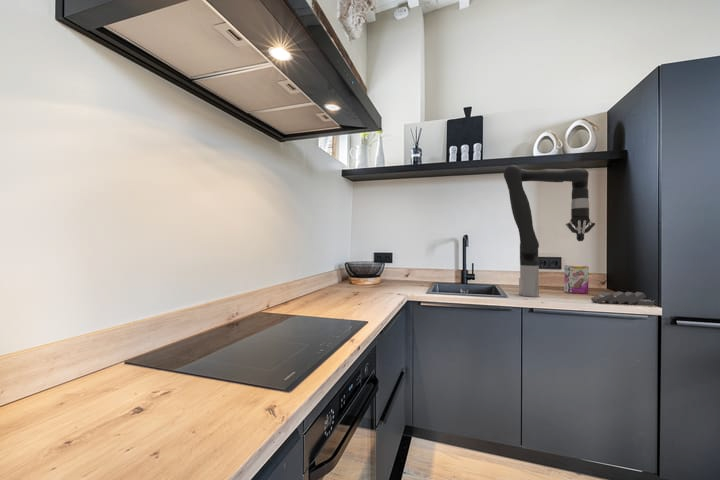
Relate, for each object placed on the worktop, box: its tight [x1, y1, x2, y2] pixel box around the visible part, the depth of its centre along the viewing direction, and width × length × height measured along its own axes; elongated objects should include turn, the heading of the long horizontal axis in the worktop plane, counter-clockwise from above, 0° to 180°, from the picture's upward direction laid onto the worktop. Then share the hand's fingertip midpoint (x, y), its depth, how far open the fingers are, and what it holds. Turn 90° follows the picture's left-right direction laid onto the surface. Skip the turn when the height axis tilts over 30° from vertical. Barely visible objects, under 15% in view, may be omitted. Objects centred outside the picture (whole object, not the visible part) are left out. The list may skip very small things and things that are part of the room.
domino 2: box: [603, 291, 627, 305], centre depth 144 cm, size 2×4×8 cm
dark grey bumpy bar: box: [614, 291, 636, 305], centre depth 143 cm, size 2×4×8 cm
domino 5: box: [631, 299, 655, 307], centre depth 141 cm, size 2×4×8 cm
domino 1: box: [590, 291, 614, 304], centre depth 145 cm, size 2×4×8 cm
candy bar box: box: [563, 264, 589, 295], centre depth 174 cm, size 11×5×16 cm, turn 84°
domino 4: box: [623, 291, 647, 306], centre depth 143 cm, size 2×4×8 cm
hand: (580, 241), depth 151 cm, fingers closed
